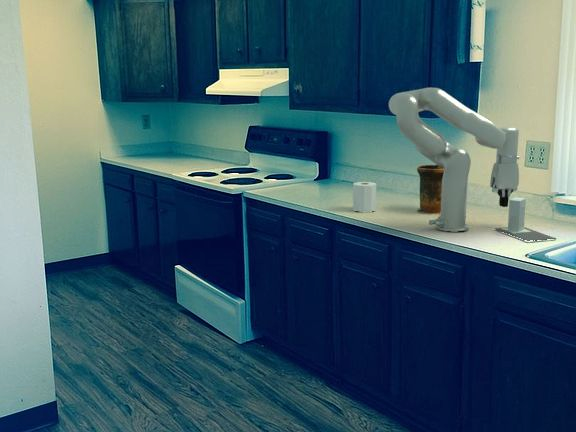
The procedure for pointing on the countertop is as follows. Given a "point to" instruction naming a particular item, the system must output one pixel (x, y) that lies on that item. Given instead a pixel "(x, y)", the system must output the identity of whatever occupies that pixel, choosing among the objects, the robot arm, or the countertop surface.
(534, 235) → the mat
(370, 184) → the toilet paper
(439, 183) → the vessel
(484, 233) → the countertop surface
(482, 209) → the countertop surface
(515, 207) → the skincare box
